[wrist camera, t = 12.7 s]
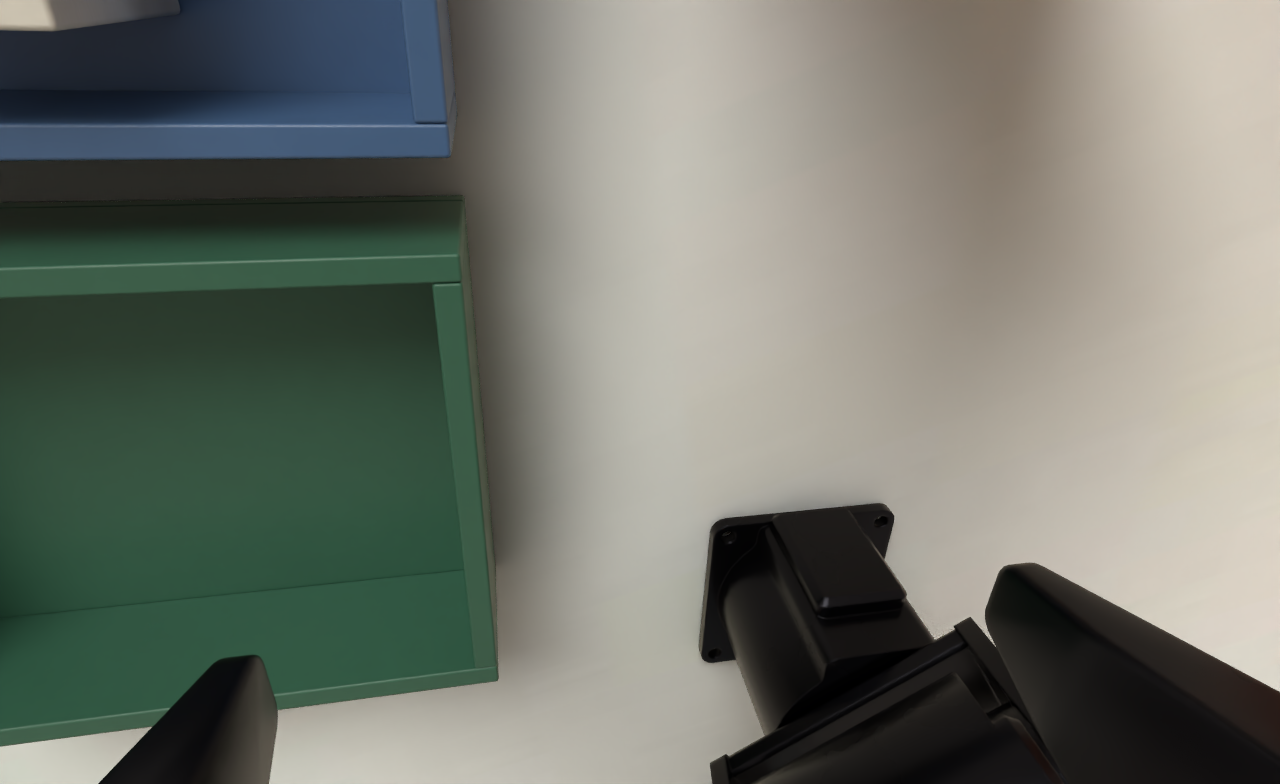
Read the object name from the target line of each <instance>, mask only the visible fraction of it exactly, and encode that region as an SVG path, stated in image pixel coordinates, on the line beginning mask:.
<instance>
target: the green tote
mask: <svg viewBox="0 0 1280 784" xmlns="http://www.w3.org/2000/svg"><path fill="white" fill-rule="evenodd" d="M252 654H254V655H258V656H260V657H261V659H262V660H263V662H264V664H265V668H266V671H267V674H268V677H269V680H270V684H271V687H272V690H273V693H274V697H275V700H276V703H277V710H281V709H289V708H297V707H304V706H312V705H319V704H327V703H335V702H342V701H350V700H357V699H365V698H373V697H380V696H388V695H396V694H403V693H411V692H418V691H426V690H434V689H441V688H449V687H456V686H464V685H472V684H479V683H487V682H494V681H498V678H499V676H498V640H497V604H496V568H495V556H494V545H493V533H492V521H491V509H490V497H489V485H488V473H487V461H486V450H485V438H484V426H483V414H482V402H481V390H480V378H479V367H478V355H477V343H476V331H475V319H474V307H473V295H472V283H471V272H470V260H469V248H468V236H467V224H466V212H465V200H464V196H462V195H450V196H386V197H322V198H258V199H194V200H130V201H66V202H3V203H0V746H8V745H15V744H23V743H31V742H38V741H46V740H53V739H61V738H69V737H76V736H84V735H91V734H99V733H107V732H114V731H122V730H129V729H137V728H145V727H152V726H154V725H155V724H156V723H157V722H158V721H159V719H160V718H161V717H162V716H163V715H164V714H165V713H166V712H167V711H168V710H169V709H170V708H171V707H172V706H173V705H174V704H175V703H176V702H177V701H178V699H179V698H180V697H181V696H182V695H183V694H184V693H185V692H186V691H187V690H188V689H189V688H190V687H191V686H192V685H193V684H194V683H195V682H196V681H197V680H198V678H199V677H200V676H201V675H202V674H203V673H204V672H205V671H206V670H207V669H208V668H209V667H210V666H211V665H212V664H213V663H214V662H216V661H217V660H219V659H221V658H226V657H235V656H243V655H252Z"/></svg>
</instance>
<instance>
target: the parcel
mask: <svg viewBox="0 0 1280 784" xmlns="http://www.w3.org/2000/svg"><path fill="white" fill-rule="evenodd" d="M179 13H180V6H179V2H178V0H0V30H9V31H60V30H67V29H75V28H82V27H90V26H97V25H105V24H112V23H119V22H127V21H134V20H142V19H149V18H157V17H164V16H171V15H177V14H179Z"/></svg>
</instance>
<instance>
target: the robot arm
mask: <svg viewBox="0 0 1280 784" xmlns="http://www.w3.org/2000/svg"><path fill="white" fill-rule="evenodd" d="M878 517H880V518H879V519H877V518H878ZM876 519H877V520H876ZM893 523H894V515H893V513H892V512H891V511H890V509H889V508H888V507H887V506H886V505H884V504H880V503H876V504H866V505H856V506H846V507H836V508H825V509H815V510H805V511H795V512H785V513H775V514H764V515H754V516H744V517H734V518H725V519H721V520H719V521H717V522H716V523H715V524H714V525H713V526H712V528H711V531H710V540H709V550H708V560H707V570H706V580H705V590H704V600H703V610H702V620H701V629H700V639H699V650H700V653H701V656H702V659H703V660H704V661H706V662H708V663H715V662H722V661H730V660H736V661H737V663H738V666H739V669H740V671H741V674H742V677H743V679H744V682H745V685H746V687H747V690H748V693H749V695H750V698H751V701H752V703H753V706H754V709H755V711H756V714H757V717H758V719H759V722H760V725H761V727H762V730H763V733H764V735H765V736H764V737H762V738H760V739H759V740H757V741H755V742H753V743H751V744H750V745H748V746H746V747H744V748H743V749H741V750H739V751H737V752H735V753H734V754H732V755H730V756H728V755H727V754H725V755H723V756H722V757H720V758H718V759H716V760H715V761H713V762H711V763H710V769H711V777H712V784H1280V692H1279V691H1277V690H1275V689H1273V688H1271V687H1269V686H1267V685H1266V684H1264V683H1262V682H1260V681H1258V680H1256V679H1254V678H1252V677H1250V676H1249V675H1247V674H1245V673H1243V672H1241V671H1239V670H1237V669H1235V668H1234V667H1232V666H1230V665H1228V664H1226V663H1224V662H1222V661H1220V660H1218V659H1217V658H1215V657H1213V656H1211V655H1209V654H1207V653H1205V652H1203V651H1201V650H1200V649H1198V648H1196V647H1194V646H1192V645H1190V644H1188V643H1186V642H1184V641H1183V640H1181V639H1179V638H1177V637H1175V636H1173V635H1171V634H1169V633H1167V632H1166V631H1164V630H1162V629H1160V628H1158V627H1156V626H1154V625H1152V624H1151V623H1149V622H1147V621H1145V620H1143V619H1141V618H1139V617H1137V616H1135V615H1134V614H1132V613H1130V612H1128V611H1126V610H1124V609H1122V608H1120V607H1118V606H1117V605H1115V604H1113V603H1111V602H1109V601H1107V600H1105V599H1103V598H1101V597H1100V596H1098V595H1096V594H1094V593H1092V592H1090V591H1088V590H1086V589H1085V588H1083V587H1081V586H1079V585H1077V584H1075V583H1073V582H1071V581H1069V580H1068V579H1066V578H1064V577H1062V576H1060V575H1058V574H1056V573H1054V572H1052V571H1051V570H1049V569H1047V568H1045V567H1043V566H1041V565H1039V564H1036V563H1021V564H1012V565H1007V566H1004V567H1003V568H1002V569H1001V570H1000V571H999V573H998V576H997V579H996V581H995V584H994V587H993V590H992V593H991V595H990V598H989V601H988V604H987V606H986V610H985V620H986V625H987V628H988V631H989V633H990V635H991V637H992V639H993V641H994V643H995V645H996V647H997V648H996V647H995V646H994V644H993V643H992V642H991V641H990V640H989V638H988V637H987V636H986V635H985V634H984V633H983V631H982V630H981V629H980V628H979V627H978V625H977V624H976V623H975V622H974V621H973V620H972V618H971V617H969V618H967V619H965V620H964V621H962V622H960V623H958V624H957V625H955V626H954V628H955V630H953V631H951V632H949V633H948V634H946V635H944V636H942V637H940V638H939V639H937V640H934V638H933V637H932V635H931V634H930V632H929V631H928V629H927V628H926V626H925V625H924V624H923V622H922V621H921V619H920V618H919V616H918V615H917V613H916V612H915V610H914V609H913V607H912V606H911V605H910V603H909V602H908V600H907V599H906V596H907V594H906V591H905V589H904V588H903V586H902V585H901V583H900V582H899V580H898V579H897V578H896V576H895V575H894V573H893V572H892V570H891V569H890V567H889V566H888V565H887V563H886V562H885V560H884V558H885V554H886V550H887V546H888V542H889V539H890V535H891V531H892V527H893ZM726 532H730V533H729V534H728V535H725V536H722V535H723V534H724V533H726ZM277 721H278V710H277V703H276V700H275V697H274V693H273V690H272V687H271V684H270V680H269V677H268V674H267V671H266V668H265V664H264V662H263V660H262V659H261V657H260V656H258V655H254V654H252V655H243V656H235V657H226V658H221V659H219V660H217V661H216V662H214V663H213V664H212V665H211V666H210V667H209V668H208V669H207V670H206V671H205V672H204V673H203V674H202V675H201V676H200V677H199V678H198V680H197V681H196V682H195V683H194V684H193V685H192V686H191V687H190V688H189V689H188V690H187V691H186V692H185V693H184V694H183V695H182V696H181V697H180V698H179V699H178V701H177V702H176V703H175V704H174V705H173V706H172V707H171V708H170V709H169V710H168V711H167V712H166V713H165V714H164V715H163V716H162V717H161V718H160V719H159V721H158V722H157V723H156V724H155V725H154V726H153V727H152V728H151V729H150V730H149V731H148V732H147V733H146V734H145V735H144V736H143V737H142V738H141V739H140V740H139V742H138V743H137V744H136V745H135V746H134V747H133V748H132V749H131V750H130V751H129V752H128V753H127V754H126V755H125V756H124V757H123V758H122V759H121V760H120V761H119V763H118V764H117V765H116V766H115V767H114V768H113V769H112V770H111V771H110V772H109V773H108V774H107V775H106V776H105V777H104V778H103V779H102V780H101V781H100V782H99V784H269V779H270V772H271V765H272V758H273V751H274V744H275V737H276V730H277Z"/></svg>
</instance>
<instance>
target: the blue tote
mask: <svg viewBox="0 0 1280 784" xmlns="http://www.w3.org/2000/svg"><path fill="white" fill-rule="evenodd" d="M178 2H179V6H180V13H179V14H177V15H171V16H164V17H157V18H149V19H142V20H134V21H127V22H119V23H112V24H105V25H97V26H90V27H82V28H75V29H67V30H60V31H9V30H0V161H50V160H197V159H345V158H448V157H450V156H451V152H452V145H453V139H454V133H455V126H456V120H457V105H456V93H455V82H454V70H453V58H452V46H451V34H450V22H449V10H448V0H178Z"/></svg>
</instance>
